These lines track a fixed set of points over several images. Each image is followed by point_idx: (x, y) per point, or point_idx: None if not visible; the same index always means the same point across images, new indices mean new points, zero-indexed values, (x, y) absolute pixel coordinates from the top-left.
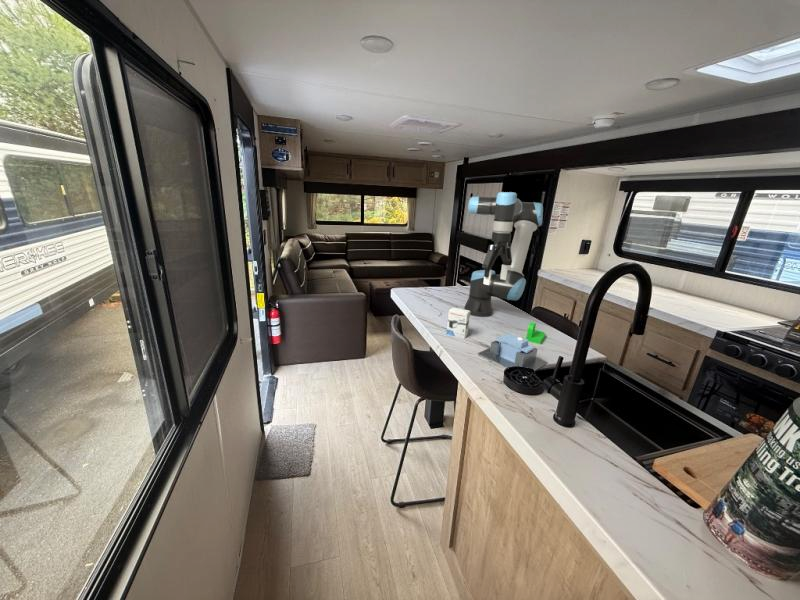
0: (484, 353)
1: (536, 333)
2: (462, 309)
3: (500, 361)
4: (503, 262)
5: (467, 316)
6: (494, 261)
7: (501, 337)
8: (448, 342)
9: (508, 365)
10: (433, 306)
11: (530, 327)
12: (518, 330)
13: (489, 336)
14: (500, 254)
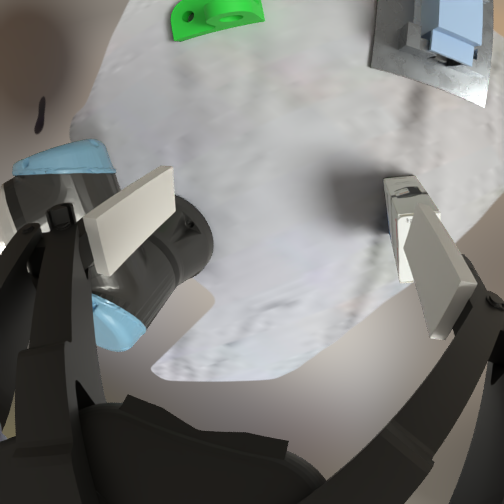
0: (475, 90)
1: (203, 13)
2: (402, 246)
3: (484, 42)
4: (89, 282)
5: (431, 205)
6: (448, 359)
7: (449, 50)
8: (463, 203)
9: (486, 21)
10: (236, 336)
11: (246, 4)
12: (199, 75)
13: (334, 118)
14: (227, 437)
